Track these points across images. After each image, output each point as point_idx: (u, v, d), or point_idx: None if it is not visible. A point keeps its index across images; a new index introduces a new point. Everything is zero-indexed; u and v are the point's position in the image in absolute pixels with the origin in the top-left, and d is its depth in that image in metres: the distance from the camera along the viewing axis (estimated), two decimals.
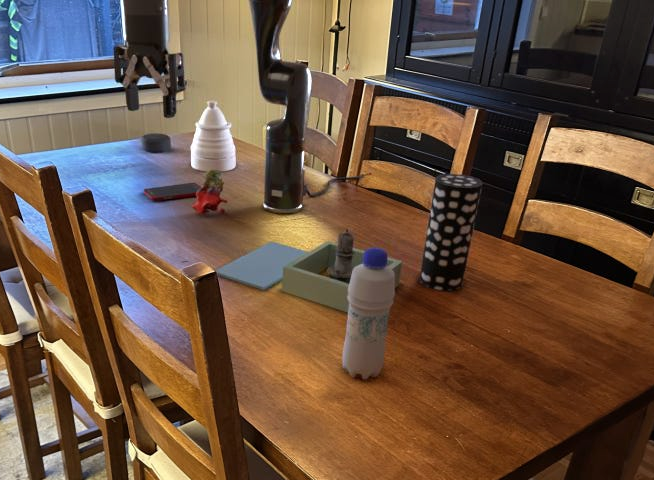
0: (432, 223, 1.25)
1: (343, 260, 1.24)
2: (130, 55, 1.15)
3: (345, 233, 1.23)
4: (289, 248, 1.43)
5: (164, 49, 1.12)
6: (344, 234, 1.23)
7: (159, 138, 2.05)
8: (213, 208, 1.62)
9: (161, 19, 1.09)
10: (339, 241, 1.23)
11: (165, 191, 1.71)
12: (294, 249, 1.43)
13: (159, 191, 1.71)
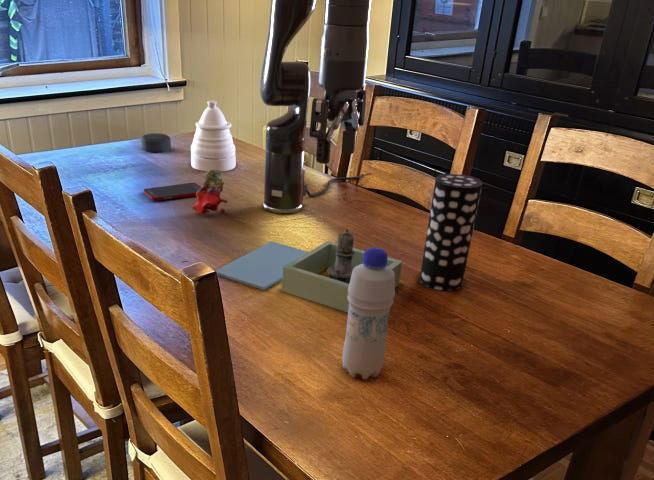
0: (432, 223, 1.25)
1: (343, 260, 1.24)
2: None
3: (345, 233, 1.23)
4: (289, 248, 1.43)
5: (330, 94, 1.08)
6: (344, 234, 1.23)
7: (159, 138, 2.05)
8: (213, 208, 1.62)
9: (329, 64, 1.06)
10: (339, 241, 1.23)
11: (165, 191, 1.71)
12: (294, 249, 1.43)
13: (159, 191, 1.71)
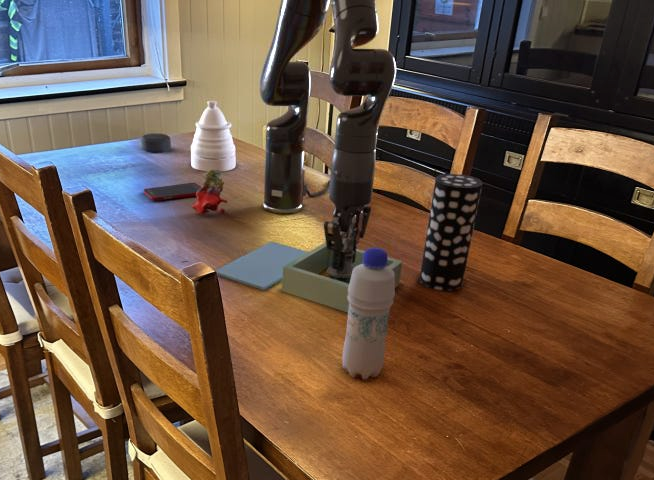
0: (432, 223, 1.25)
1: None
2: None
3: (345, 233, 1.23)
4: (289, 248, 1.43)
5: (340, 210, 1.18)
6: None
7: (159, 138, 2.05)
8: (213, 208, 1.62)
9: (340, 184, 1.16)
10: None
11: (165, 191, 1.71)
12: (294, 249, 1.43)
13: (159, 191, 1.71)
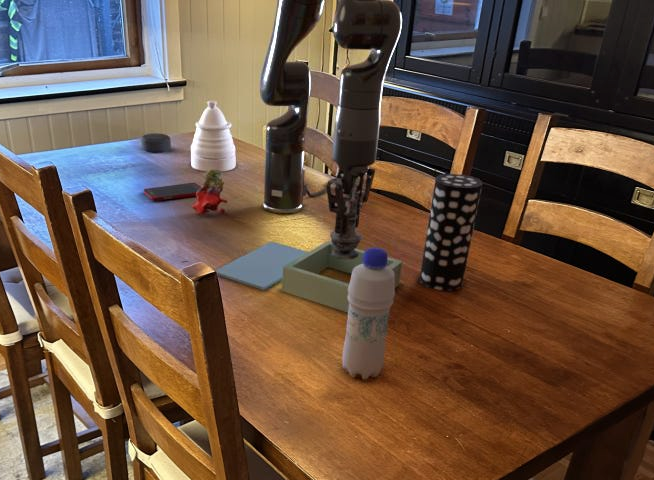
0: (432, 223, 1.25)
1: None
2: None
3: (349, 195, 1.19)
4: (289, 248, 1.43)
5: (343, 170, 1.14)
6: None
7: (159, 138, 2.05)
8: (213, 208, 1.62)
9: (343, 143, 1.12)
10: None
11: (165, 191, 1.71)
12: (294, 249, 1.43)
13: (159, 191, 1.71)
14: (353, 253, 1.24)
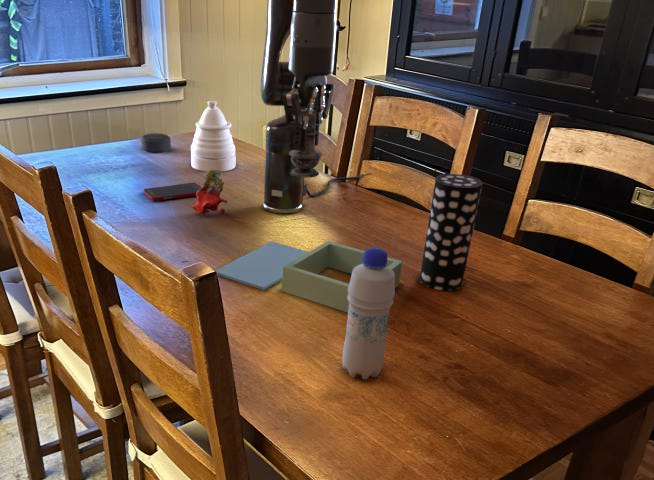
0: (432, 223, 1.25)
1: None
2: None
3: None
4: (289, 248, 1.43)
5: (299, 80, 1.12)
6: None
7: (159, 138, 2.05)
8: (213, 208, 1.62)
9: (298, 50, 1.10)
10: None
11: (165, 191, 1.71)
12: (294, 249, 1.43)
13: (159, 191, 1.71)
14: (313, 172, 1.22)
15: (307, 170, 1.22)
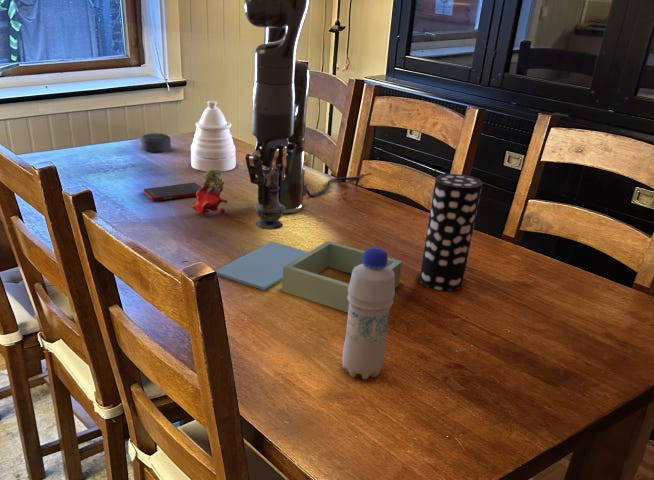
0: (432, 223, 1.25)
1: None
2: None
3: None
4: (289, 248, 1.43)
5: (261, 143, 1.21)
6: None
7: (159, 138, 2.05)
8: (213, 208, 1.62)
9: (260, 117, 1.19)
10: (264, 176, 1.27)
11: (165, 191, 1.71)
12: (294, 249, 1.43)
13: (159, 191, 1.71)
14: (277, 224, 1.31)
15: (271, 222, 1.31)
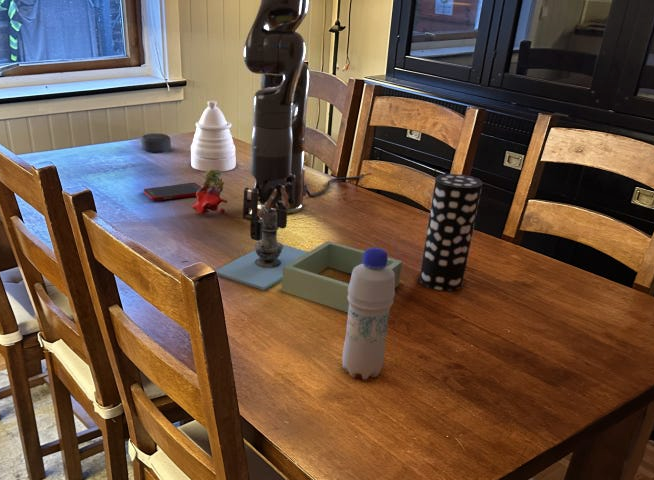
0: (432, 223, 1.25)
1: (267, 235, 1.32)
2: None
3: None
4: (289, 248, 1.43)
5: (259, 183, 1.25)
6: None
7: (159, 138, 2.05)
8: (213, 208, 1.62)
9: (258, 159, 1.23)
10: (263, 217, 1.31)
11: (165, 191, 1.71)
12: (294, 249, 1.43)
13: (159, 191, 1.71)
14: (275, 262, 1.35)
15: (270, 260, 1.35)
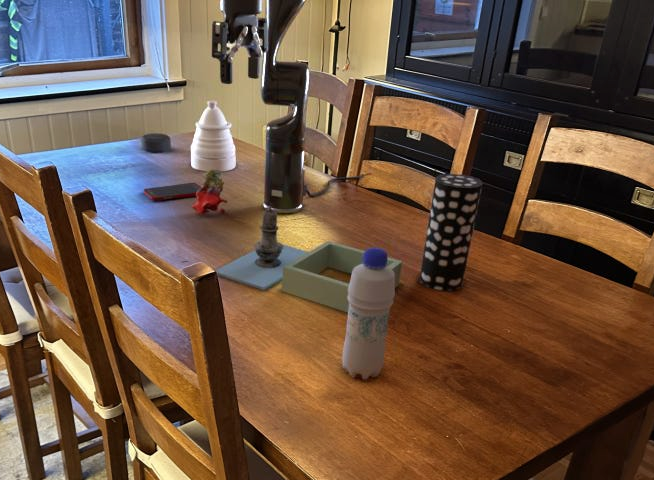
0: (432, 223, 1.25)
1: (267, 235, 1.32)
2: None
3: (268, 209, 1.30)
4: (289, 248, 1.43)
5: (229, 18, 1.20)
6: (267, 210, 1.30)
7: (159, 138, 2.05)
8: (213, 208, 1.62)
9: None
10: (263, 217, 1.31)
11: (165, 191, 1.71)
12: (294, 249, 1.43)
13: (159, 191, 1.71)
14: (275, 262, 1.35)
15: (270, 260, 1.35)
